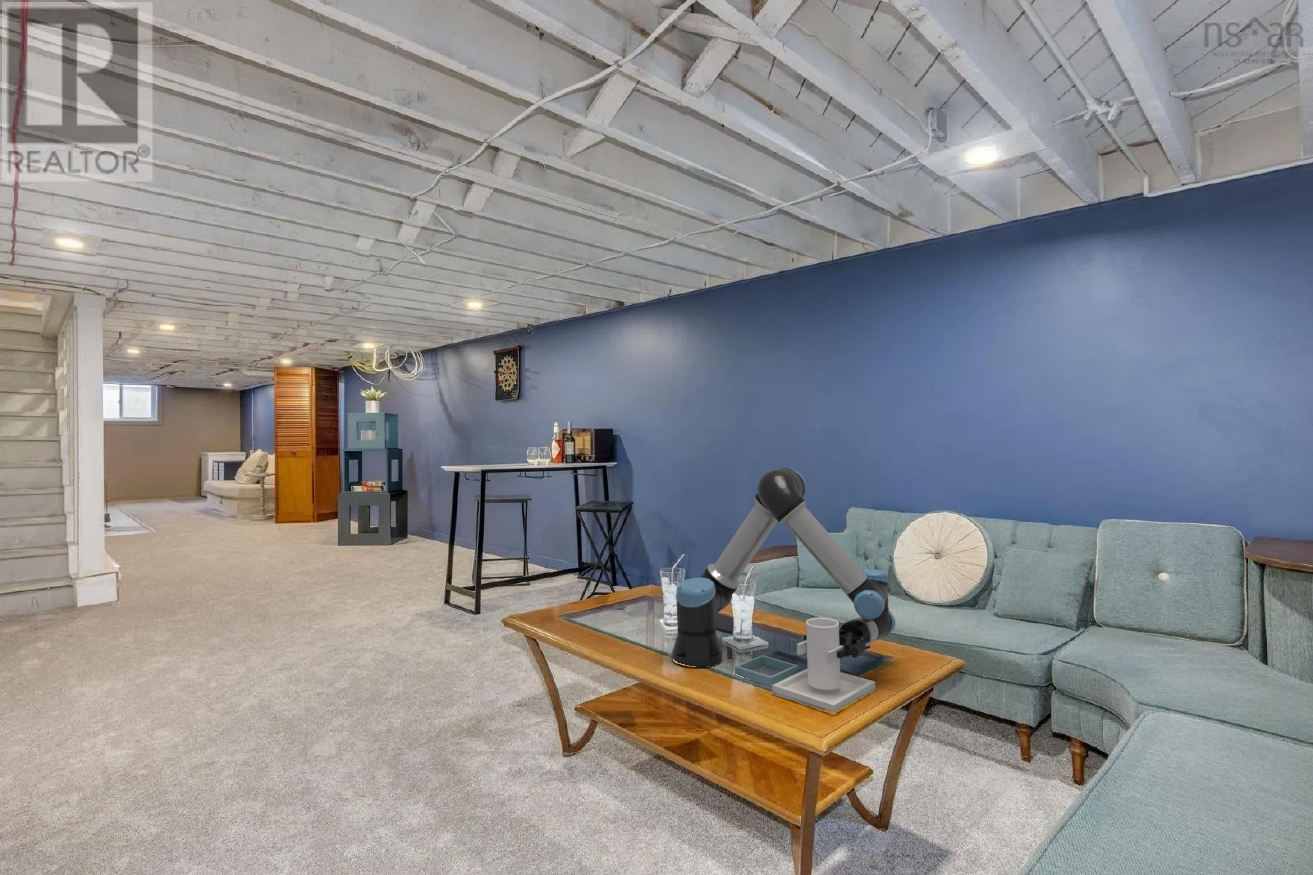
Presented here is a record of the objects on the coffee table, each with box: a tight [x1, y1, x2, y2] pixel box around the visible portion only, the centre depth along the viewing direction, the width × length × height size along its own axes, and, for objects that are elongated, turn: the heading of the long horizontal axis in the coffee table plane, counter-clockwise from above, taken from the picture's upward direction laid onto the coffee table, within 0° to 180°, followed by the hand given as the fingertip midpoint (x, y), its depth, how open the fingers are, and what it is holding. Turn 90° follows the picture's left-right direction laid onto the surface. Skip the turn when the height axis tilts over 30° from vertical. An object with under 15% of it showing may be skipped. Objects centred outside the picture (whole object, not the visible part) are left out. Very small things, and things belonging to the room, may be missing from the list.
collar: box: [734, 654, 799, 688], centre depth 179 cm, size 13×13×2 cm
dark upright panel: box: [716, 613, 756, 635], centre depth 228 cm, size 13×2×21 cm
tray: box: [771, 667, 876, 712], centre depth 166 cm, size 20×18×2 cm
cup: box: [805, 617, 841, 690], centre depth 166 cm, size 8×8×16 cm
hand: (812, 653), depth 163 cm, fingers closed on cup, 8 cm apart
